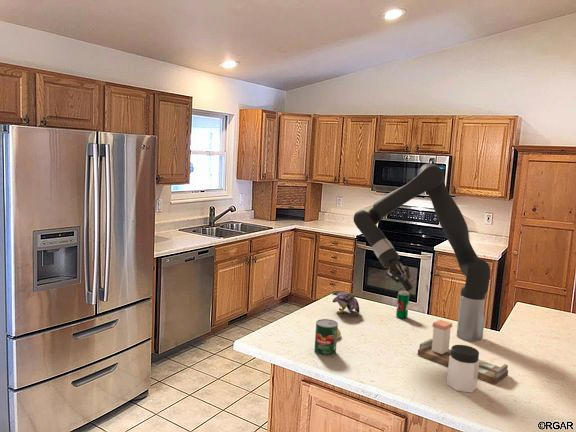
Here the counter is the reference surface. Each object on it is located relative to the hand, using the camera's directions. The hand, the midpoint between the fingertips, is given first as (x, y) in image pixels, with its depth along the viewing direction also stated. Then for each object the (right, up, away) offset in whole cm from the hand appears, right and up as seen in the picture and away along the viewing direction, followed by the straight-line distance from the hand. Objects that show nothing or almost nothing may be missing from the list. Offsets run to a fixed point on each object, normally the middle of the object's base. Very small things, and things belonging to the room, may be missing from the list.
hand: (410, 290), depth 170 cm
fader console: (+14, -24, -13) cm, 31 cm away
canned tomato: (-33, -21, -8) cm, 40 cm away
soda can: (+5, -18, +34) cm, 39 cm away
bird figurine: (-20, -17, +35) cm, 44 cm away
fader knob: (+9, -21, -8) cm, 24 cm away
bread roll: (-30, -20, +8) cm, 37 cm away
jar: (+8, -26, -28) cm, 39 cm away
